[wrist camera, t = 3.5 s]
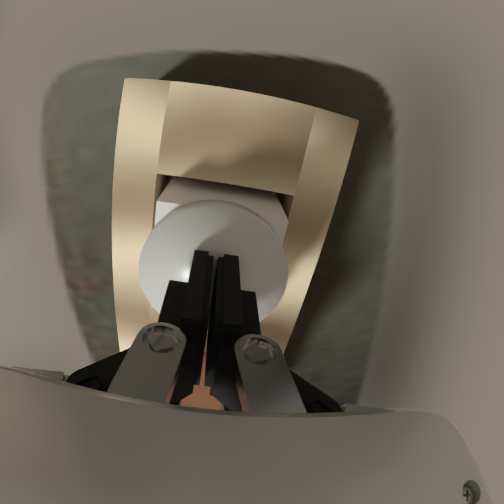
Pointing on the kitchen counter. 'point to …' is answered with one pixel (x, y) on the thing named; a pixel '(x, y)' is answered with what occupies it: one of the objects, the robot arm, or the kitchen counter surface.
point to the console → (223, 177)
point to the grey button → (216, 238)
